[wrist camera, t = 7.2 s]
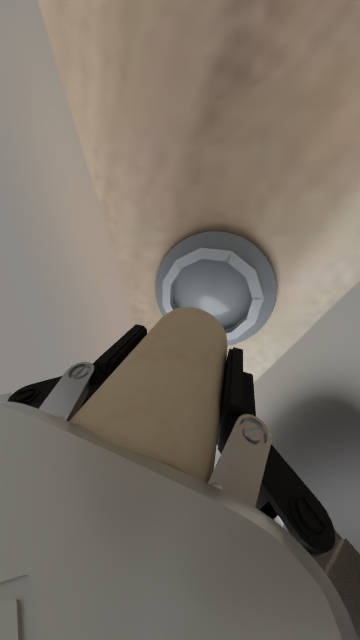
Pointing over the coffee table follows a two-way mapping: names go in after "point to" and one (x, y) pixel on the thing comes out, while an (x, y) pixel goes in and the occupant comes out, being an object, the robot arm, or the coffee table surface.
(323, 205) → the coffee table surface
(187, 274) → the candle dish
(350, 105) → the coffee table surface
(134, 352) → the candle
